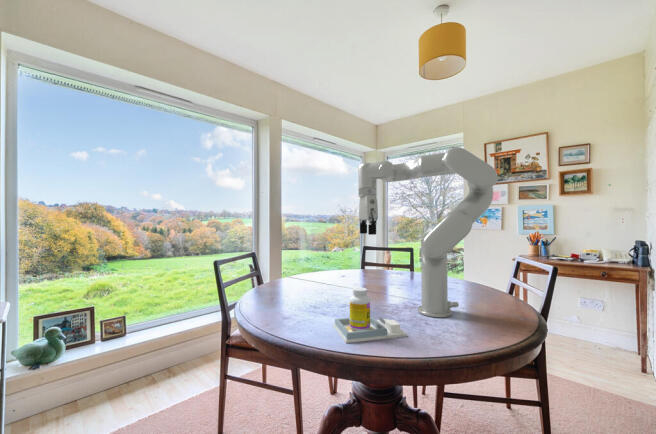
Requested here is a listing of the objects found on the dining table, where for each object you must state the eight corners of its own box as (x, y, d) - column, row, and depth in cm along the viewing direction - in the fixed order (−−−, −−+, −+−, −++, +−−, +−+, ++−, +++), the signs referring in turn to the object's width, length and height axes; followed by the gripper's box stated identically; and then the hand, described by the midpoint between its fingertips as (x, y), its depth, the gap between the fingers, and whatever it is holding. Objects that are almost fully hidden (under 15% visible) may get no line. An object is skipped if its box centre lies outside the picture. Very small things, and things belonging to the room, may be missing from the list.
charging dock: (387, 321, 104) (387, 312, 104) (407, 336, 90) (407, 325, 91) (333, 326, 99) (333, 316, 99) (345, 343, 86) (345, 332, 86)
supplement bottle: (369, 333, 90) (369, 292, 91) (348, 331, 92) (348, 291, 92) (370, 325, 97) (370, 287, 97) (350, 324, 98) (350, 286, 98)
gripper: (384, 191, 114) (385, 234, 114) (368, 195, 131) (368, 233, 131) (366, 190, 113) (367, 235, 112) (352, 194, 129) (352, 233, 129)
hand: (367, 233), depth 122 cm, fingers open, 9 cm apart
